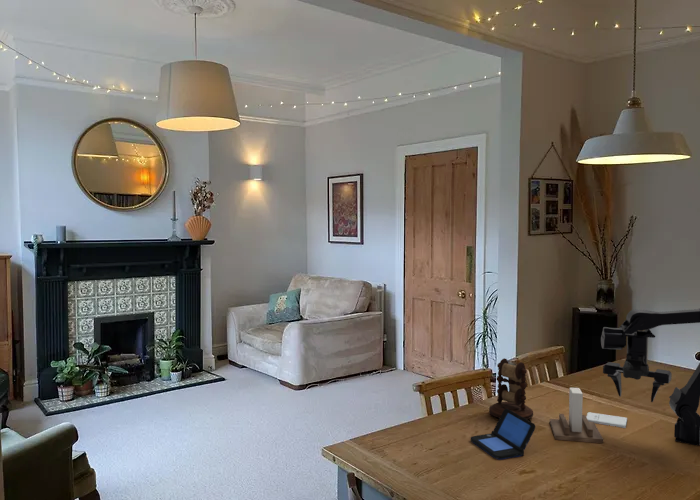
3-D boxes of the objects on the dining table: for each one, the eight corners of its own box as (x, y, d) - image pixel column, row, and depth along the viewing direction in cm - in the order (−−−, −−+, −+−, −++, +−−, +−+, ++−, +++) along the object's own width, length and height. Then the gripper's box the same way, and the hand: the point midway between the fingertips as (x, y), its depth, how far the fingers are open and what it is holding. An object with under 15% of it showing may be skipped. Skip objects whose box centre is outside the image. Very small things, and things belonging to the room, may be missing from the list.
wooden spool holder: (541, 417, 197) (542, 361, 196) (516, 428, 188) (517, 368, 187) (505, 406, 209) (506, 353, 207) (480, 416, 199) (481, 359, 198)
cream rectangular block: (578, 425, 186) (579, 388, 186) (581, 432, 181) (582, 393, 180) (568, 424, 187) (569, 387, 186) (571, 431, 181) (572, 393, 180)
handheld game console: (468, 441, 178) (469, 412, 177) (505, 435, 182) (505, 407, 182) (497, 461, 163) (498, 430, 162) (536, 454, 167) (537, 424, 167)
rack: (593, 425, 190) (594, 414, 189) (603, 443, 175) (603, 431, 175) (549, 422, 193) (549, 411, 192) (555, 439, 178) (555, 428, 178)
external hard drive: (625, 430, 187) (585, 423, 193) (627, 422, 194) (588, 415, 201) (625, 425, 187) (585, 418, 193) (627, 417, 194) (588, 411, 200)
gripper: (598, 350, 178) (597, 399, 179) (666, 360, 167) (664, 412, 168) (608, 344, 187) (606, 391, 188) (672, 352, 175) (670, 402, 176)
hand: (635, 399), depth 180 cm, fingers open, 9 cm apart
